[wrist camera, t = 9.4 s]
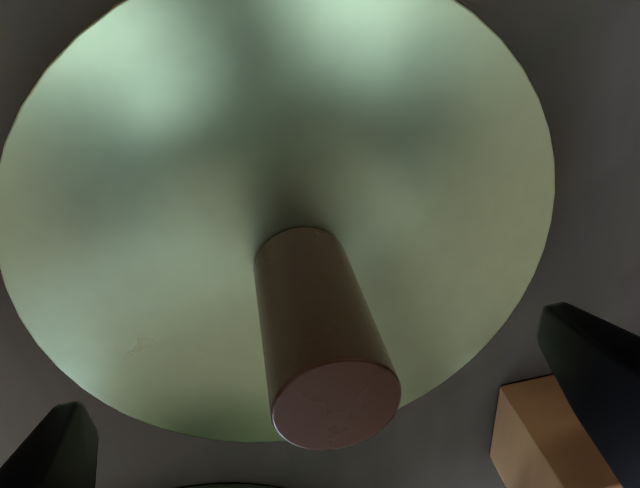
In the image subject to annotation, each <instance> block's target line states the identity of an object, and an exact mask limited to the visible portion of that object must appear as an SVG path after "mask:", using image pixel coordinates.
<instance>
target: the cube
mask: <svg viewBox="0 0 640 488" xmlns="http://www.w3.org/2000/svg"><path fill="white" fill-rule="evenodd" d="M490 458H491V460H492V462H493V464H494V466H495V467H496V469H497V471H498V473H499V475H500V477H501V479H502V481H503V483H504V484H505V486H506V488H623V487H622V485H621V484H620V482H619V481H618V479H617V478H616V476H615V475H614V473H613V472H612V470H611V468H610V467H609V465H608V464H607V462H606V461H605V459H604V458H603V456H602V455H601V453H600V452H599V450H598V449H597V447H596V446H595V444H594V443H593V441H592V440H591V438H590V437H589V435H588V434H587V432H586V431H585V429H584V428H583V426H582V425H581V423H580V422H579V420H578V418H577V417H576V415H575V414H574V412H573V410H572V408H571V406H570V405H569V403H568V401H567V399H566V397H565V395H564V393H563V391H562V390H561V388H560V386H559V384H558V382H557V380H556V378H555V376H554V375H550V376H545V377H541V378H536V379H531V380H527V381H522V382H518V383H513V384H509V385H504V386H501V387H500V392H499V398H498V405H497V411H496V418H495V424H494V430H493V437H492V443H491V450H490Z"/></svg>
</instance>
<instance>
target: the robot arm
mask: <svg viewBox="0 0 640 488" xmlns="http://www.w3.org/2000/svg"><path fill="white" fill-rule="evenodd" d="M537 341H538V345H539V347H540V349H541V351H542V353H543V355H544V357H545V359H546V361H547V363H548V365H549V367H550V368H551V370H552V372H553V374H554V376H555V378H556V380H557V382H558V384H559V386H560V388H561V390H562V391H563V393H564V395H565V397H566V399H567V401H568V403H569V405H570V406H571V408H572V410H573V412H574V414H575V415H576V417H577V418H578V420H579V422H580V423H581V425H582V426H583V428H584V429H585V431H586V432H587V434H588V435H589V437H590V438H591V440H592V441H593V443H594V444H595V446H596V447H597V449H598V450H599V452H600V453H601V455H602V456H603V458H604V459H605V461H606V462H607V464H608V465H609V467H610V468H611V470H612V472H613V473H614V475H615V476H616V478H617V479H618V481H619V482H620V484H621V485H622V487H623V488H640V336H637V335H635V334H633V333H631V332H629V331H627V330H625V329H622V328H620V327H618V326H616V325H614V324H612V323H609V322H607V321H605V320H603V319H601V318H599V317H597V316H594V315H592V314H590V313H588V312H586V311H584V310H581V309H579V308H577V307H575V306H573V305H571V304H568V303H565V302H560V303H555V304H550V305H546V306H545V307H544V308H543V309H542V313H541V318H540V323H539V328H538V333H537ZM97 453H98V432H97V429H96V426H95V425H94V423H93V421H92V419H91V417H90V415H89V413H88V412H87V410H86V408H85V406H84V405H83V403H82V402H80V401H73V402H68V403H63V404H59V405H56V406H55V407H54V408H53V409H52V410H51V411H50V412H49V413H48V414H47V415H46V416H45V418H44V419H43V420H42V421H41V422H40V423H39V424H38V426H37V427H36V428H35V429H34V430H33V431H32V432H31V434H30V435H29V436H28V437H27V438H26V439H25V440H24V441H23V443H22V444H21V445H20V446H19V447H18V448H17V449H16V451H15V452H14V453H13V454H12V455H11V456H10V457H9V459H8V460H7V461H6V462H5V463H4V464H3V465H2V466H1V468H0V488H95V483H96V468H97Z"/></svg>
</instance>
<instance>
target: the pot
mask: <svg viewBox="0 0 640 488" xmlns="http://www.w3.org/2000/svg"><path fill="white" fill-rule="evenodd" d="M186 488H276V487H269V486H262V485H252V484H211V485H202V486H193V487H186Z"/></svg>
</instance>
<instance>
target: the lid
mask: <svg viewBox="0 0 640 488" xmlns="http://www.w3.org/2000/svg"><path fill="white" fill-rule="evenodd" d="M554 198H555V160H554V154H553V148H552V142H551V136H550V130H549V127H548V124H547V121H546V118H545V115H544V112H543V109H542V106H541V103H540V100H539V97H538V96H537V94H536V92H535V90H534V88H533V86H532V84H531V82H530V80H529V78H528V76H527V75H526V73H525V71H524V69H523V67H522V66H521V64H520V63H519V62H518V60H517V59H516V58H515V56H514V55H513V54H512V52H511V51H510V50H509V49H508V47H507V46H506V45H505V43H504V42H503V41H502V39H501V38H500V37H499V36H498V35H497V34H496V33H495V32H494V31H493V30H492V29H491V28H489V27H488V26H487V25H486V24H485V23H484V22H483V21H482V20H481V19H480V18H479V17H478V16H477V15H476V14H475V13H474V12H473V11H471V10H470V9H468V8H467V7H465V6H464V5H462V4H461V3H459V2H458V1H456V0H122V1H120V2H118V3H117V4H116V5H114V6H113V7H112V8H110V9H109V10H108V11H106V12H105V13H104V14H103V15H101V16H100V17H99V18H97V19H96V20H95V21H93V22H92V23H91V24H90V25H88V26H87V27H86V28H84V29H83V30H82V31H81V32H79V33H78V34H77V35H76V36H75V37H74V38H73V39H72V40H71V41H70V42H69V43H68V44H67V46H66V47H65V48H64V49H63V50H62V51H61V52H60V53H59V54H58V55H57V56H56V57H55V58H54V59H53V61H52V62H51V63H50V64H49V65H48V66H47V67H46V68H45V69H44V71H43V73H42V74H41V76H40V77H39V79H38V80H37V82H36V83H35V85H34V86H33V88H32V89H31V91H30V92H29V94H28V95H27V97H26V98H25V100H24V101H23V103H22V104H21V106H20V108H19V111H18V113H17V115H16V118H15V120H14V122H13V124H12V127H11V129H10V131H9V133H8V136H7V138H6V140H5V143H4V146H3V150H2V154H1V158H0V270H1V274H2V277H3V281H4V284H5V288H6V290H7V292H8V294H9V296H10V299H11V301H12V303H13V305H14V307H15V309H16V311H17V314H18V316H19V318H20V319H21V321H22V322H23V324H24V325H25V327H26V328H27V330H28V331H29V333H30V334H31V336H32V337H33V339H34V340H35V342H36V343H37V345H38V346H39V347H40V348H41V349H42V350H43V352H44V353H45V354H46V355H47V356H48V357H49V358H50V359H51V361H52V362H53V363H54V364H55V365H56V366H57V367H58V368H59V369H60V370H61V371H62V372H63V373H65V374H66V375H67V376H68V377H69V378H70V379H72V380H73V381H74V382H75V383H76V384H77V385H79V386H80V387H81V388H82V389H84V390H85V391H87V392H88V393H90V394H91V395H93V396H94V397H96V398H97V399H99V400H100V401H102V402H104V403H105V404H107V405H109V406H111V407H113V408H115V409H116V410H118V411H120V412H122V413H124V414H126V415H128V416H130V417H132V418H135V419H137V420H140V421H143V422H145V423H148V424H150V425H153V426H156V427H158V428H162V429H165V430H169V431H173V432H176V433H180V434H184V435H188V436H193V437H199V438H205V439H211V440H219V441H232V442H277V441H288V442H289V443H291V444H293V445H295V446H298V447H301V448H305V449H311V450H333V449H339V448H344V447H348V446H351V445H354V444H357V443H359V442H361V441H364V440H366V439H368V438H369V437H371V436H373V435H374V434H376V433H377V432H379V431H380V430H381V429H382V428H384V427H385V426H386V425H387V424H388V423H389V422H390V420H391V419H392V418H393V417H394V415H395V413H396V412H397V410H398V409H399V408H401V407H403V406H405V405H407V404H409V403H411V402H412V401H414V400H416V399H418V398H420V397H421V396H423V395H425V394H426V393H428V392H429V391H431V390H432V389H434V388H435V387H437V386H438V385H440V384H441V383H443V382H444V381H446V380H447V379H448V378H450V377H451V376H452V375H453V374H455V373H456V372H457V371H458V370H460V369H461V368H462V367H463V366H464V365H466V364H467V363H468V362H469V361H470V360H471V359H472V358H473V357H474V356H475V355H476V354H477V353H478V352H479V351H480V350H481V349H483V348H484V347H485V346H486V345H487V344H488V342H489V341H490V340H491V339H492V338H493V337H494V335H495V334H496V333H497V332H498V331H499V329H500V328H501V327H502V326H503V325H504V324H505V322H506V321H507V319H508V318H509V316H510V315H511V313H512V312H513V311H514V309H515V308H516V306H517V305H518V303H519V302H520V300H521V299H522V297H523V295H524V293H525V291H526V289H527V287H528V286H529V284H530V282H531V280H532V278H533V276H534V274H535V271H536V269H537V266H538V264H539V261H540V259H541V256H542V254H543V251H544V249H545V245H546V241H547V237H548V233H549V229H550V225H551V221H552V214H553V206H554Z"/></svg>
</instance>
